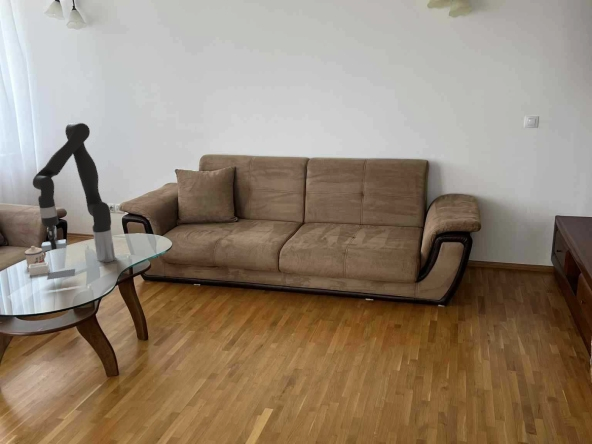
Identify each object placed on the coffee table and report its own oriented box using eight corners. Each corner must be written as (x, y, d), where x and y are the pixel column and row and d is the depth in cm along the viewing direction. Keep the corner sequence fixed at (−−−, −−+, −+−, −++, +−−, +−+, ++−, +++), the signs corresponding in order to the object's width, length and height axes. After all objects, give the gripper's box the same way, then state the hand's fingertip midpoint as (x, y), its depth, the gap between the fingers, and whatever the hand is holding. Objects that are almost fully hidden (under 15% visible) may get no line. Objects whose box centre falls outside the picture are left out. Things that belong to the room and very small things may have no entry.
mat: (75, 270, 291) (75, 268, 291) (74, 277, 282) (74, 275, 282) (48, 274, 287) (48, 272, 287) (47, 281, 278) (46, 279, 278)
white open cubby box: (49, 270, 293) (48, 261, 291) (49, 274, 288) (47, 265, 286) (31, 273, 290) (29, 264, 289) (30, 277, 285) (28, 268, 284)
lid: (66, 244, 285) (65, 239, 284) (66, 247, 279) (65, 242, 279) (43, 247, 282) (42, 242, 281) (42, 251, 276) (41, 246, 275)
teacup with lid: (36, 270, 294) (32, 249, 291) (23, 269, 297) (19, 248, 294) (53, 262, 305) (49, 242, 302) (40, 261, 308) (36, 241, 305)
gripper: (56, 217, 270) (61, 250, 275) (57, 210, 283) (63, 242, 288) (39, 220, 268) (45, 252, 273) (42, 212, 281) (47, 244, 286)
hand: (54, 247), depth 281 cm, fingers closed on lid, 6 cm apart
